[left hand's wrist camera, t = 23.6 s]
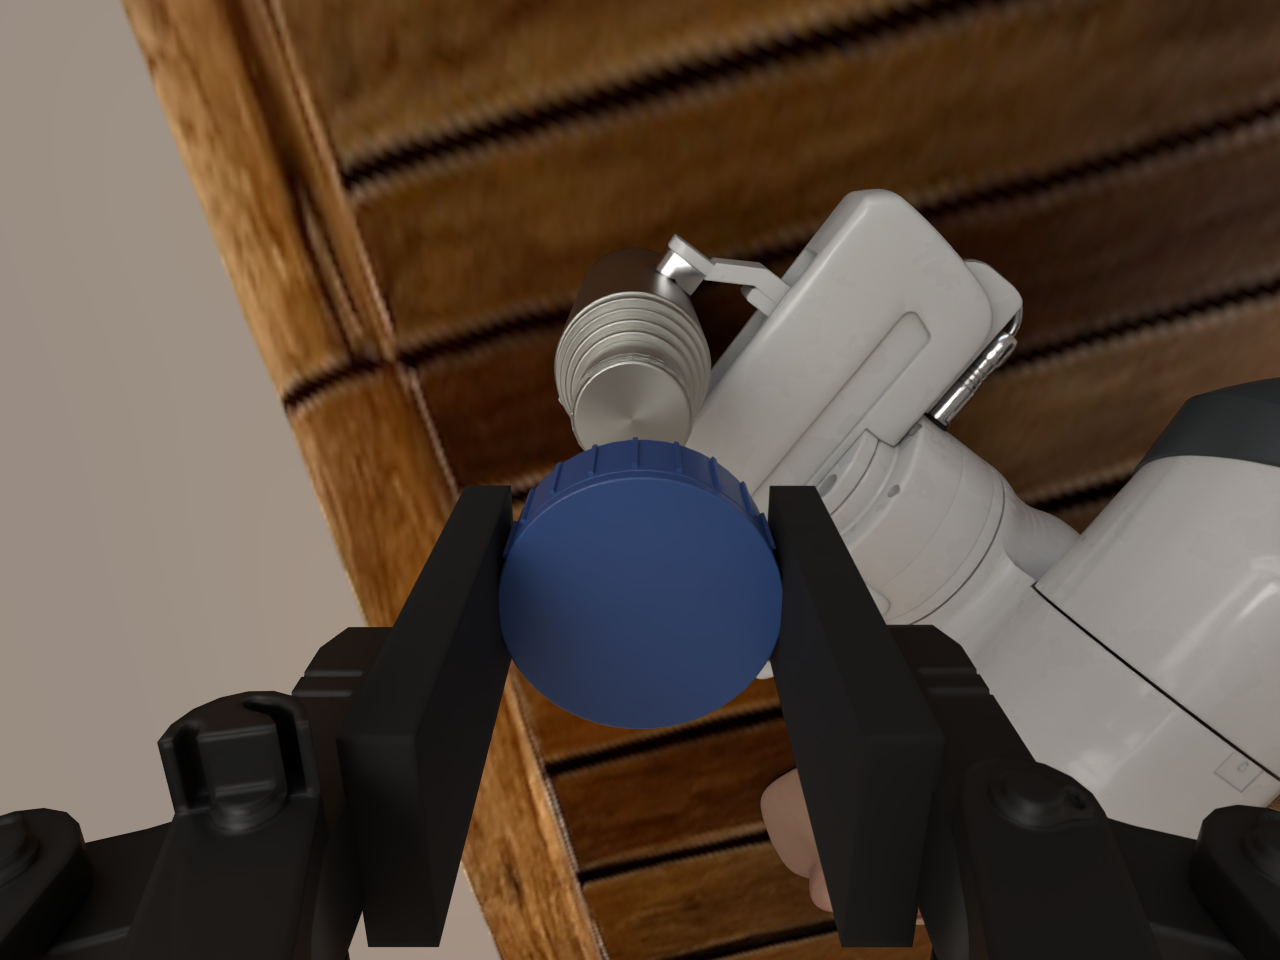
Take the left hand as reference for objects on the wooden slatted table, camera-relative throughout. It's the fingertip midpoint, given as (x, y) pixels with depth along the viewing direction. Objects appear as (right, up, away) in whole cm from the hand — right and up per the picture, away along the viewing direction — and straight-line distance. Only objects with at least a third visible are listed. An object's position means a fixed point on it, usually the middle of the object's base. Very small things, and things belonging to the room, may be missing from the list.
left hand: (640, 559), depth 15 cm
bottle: (0, +10, +26) cm, 28 cm away
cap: (0, -1, -1) cm, 1 cm away
